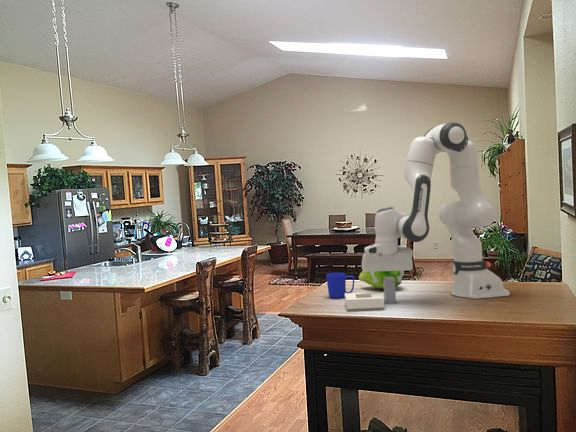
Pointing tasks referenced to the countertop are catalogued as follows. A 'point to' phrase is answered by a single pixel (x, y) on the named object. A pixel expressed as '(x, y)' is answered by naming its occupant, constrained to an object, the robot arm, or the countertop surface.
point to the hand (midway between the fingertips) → (387, 282)
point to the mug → (337, 284)
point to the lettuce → (379, 278)
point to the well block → (364, 301)
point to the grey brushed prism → (389, 290)
